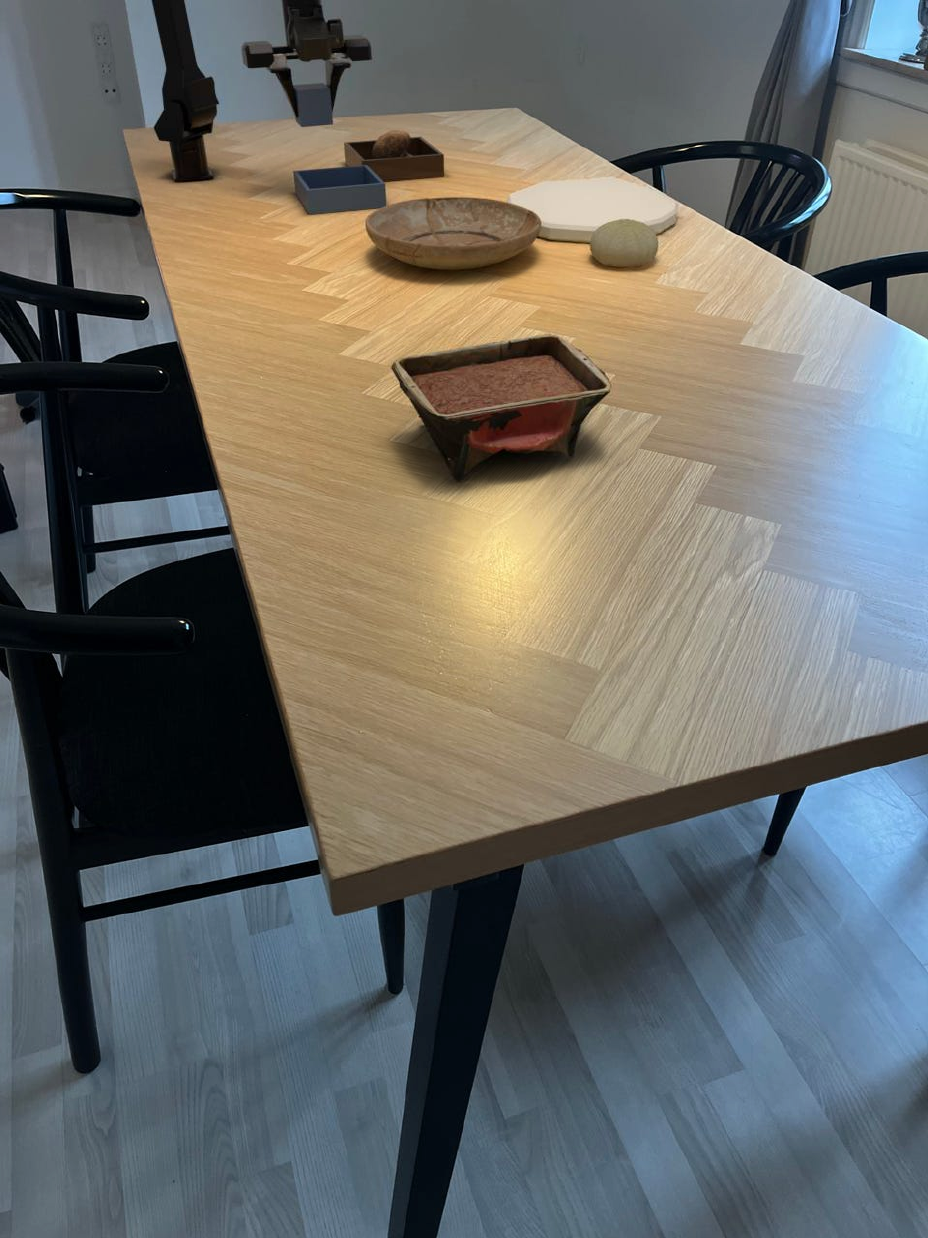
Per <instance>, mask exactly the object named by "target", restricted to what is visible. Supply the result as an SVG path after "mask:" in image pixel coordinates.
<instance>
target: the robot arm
mask: <svg viewBox="0 0 928 1238" xmlns="http://www.w3.org/2000/svg"><path fill="white" fill-rule="evenodd" d="M151 4H152V9H153V15H154V18H155V19H154V20H155V23H156V28H157V31H158V32H157V33H158V36H159V41H160V45H161V50H162V55H163V59H164V65H165V74H164V76H163V77H164V78H163V83H162V87H161V96H162V106H163V110H162V112H161V114H160V115H159V117H158V119H157V120H156V122H155V124H154V126H153V130H154V133H155V135H156V137H157V140H158V141H159V142H165V143H166V142H167V143H169V149H170V154H171V160H172V164H173V165H172V166H173V169H171V175H172V177H173V181H174V182H185V181H197V180H199V181H200V180H211V179H214V174H213V172H212V170H211V168H210V167H209V164H208V157H207V151H206V145H205V138H204V136H205V135H207V134H212V133H213V130H214V129H213V128H214V122H215V121H214V120H215V119H216V117H217V116H218V105H220V101H219V99H218V97H217V93H216V87H215V85H216V84H215V83H216V82H215V80H214V77H213V76H207V77H206V76H205V74H204V72H202V70H201V68H200V67H199V65H198V62H197V57H196V51H195V47H194V42H193V37H192V32H191V27H190V21H189V16H188V12H187V7H186V2H185V0H151ZM281 7H282V16H283V24H284V25H283V26H284V34H285V42H286V45H275V46H273V45H272V44H271V43H270V42H269V41H268V40H258V41H244V42H243V44H242V45H241V56H242V63H243V64H244V66H245V67H246V68H247V69H263V68H265V69H266V70H267V71H268V72H269V73H270V74H275V76H276V78H277V80H278V81H279V83H280V85H281V88H282V89H283V91H284V94H285V96H286V99H287V101H288V103H289V105H290V108H291V110H292V113H293V116H294V118H295V117H296V118H297V117H298V109H297V102H296V97H295V92H294V88H293V85H294V83H293V79H292V69H291V68H290V66H288V65H287V63H288V61H289V60H299V61H300V62H304V63H309V62H312V61H316V60H317V61H318V60H319V61H320V60H322V61H323V62H324V67H325V85H326V86H328V87H329V88H330V95H331V106H332V114H333V112H334V108H335V102H336V97H337V93H338V92H337V91H338V88H339V84H340V81H341V79H342V76H343V74H344V72H345V70H346V69H351V68H352V63H350V61H351V62H364V61H371V60H373V56H372V45H371V42H370V40H369V39H367V37H364V36H363V35H361V34H352V35H351V34H350V35H344V29H343V22H342V20H341V18H332V19H328V20H327V21H326V20H325V17H324V10H323V4H322V0H281ZM349 60H350V61H349Z"/></svg>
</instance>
